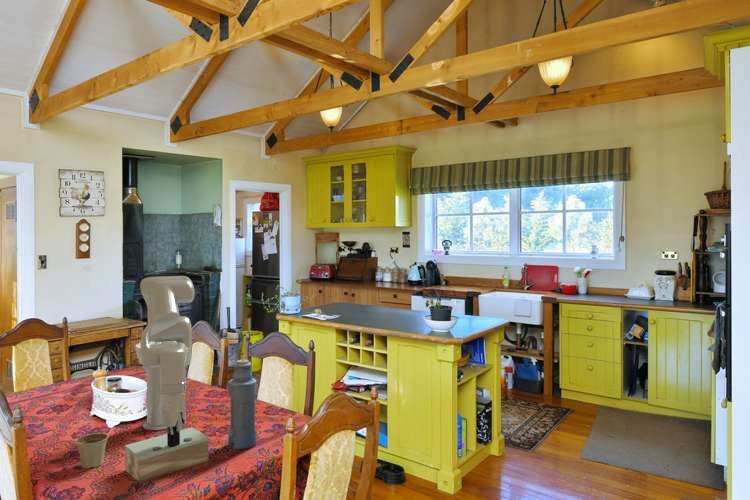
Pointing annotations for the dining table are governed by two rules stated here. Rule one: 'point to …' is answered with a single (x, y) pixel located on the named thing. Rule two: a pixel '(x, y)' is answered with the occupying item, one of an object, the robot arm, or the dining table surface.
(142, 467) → the box
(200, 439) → the lid
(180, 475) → the dining table surface
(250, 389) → the bottle
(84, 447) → the flower pot
